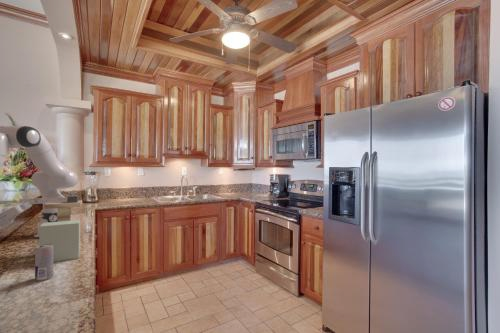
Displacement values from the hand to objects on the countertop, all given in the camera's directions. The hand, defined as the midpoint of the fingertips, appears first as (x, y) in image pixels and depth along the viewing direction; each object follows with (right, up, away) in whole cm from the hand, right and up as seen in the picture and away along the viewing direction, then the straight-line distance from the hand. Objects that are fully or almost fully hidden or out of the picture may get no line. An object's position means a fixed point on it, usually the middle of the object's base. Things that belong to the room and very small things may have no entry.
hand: (36, 200), depth 120 cm
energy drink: (+23, -26, -24) cm, 43 cm away
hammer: (+4, -2, +2) cm, 5 cm away
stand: (+9, -26, +5) cm, 28 cm away
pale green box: (+15, -26, -4) cm, 30 cm away
